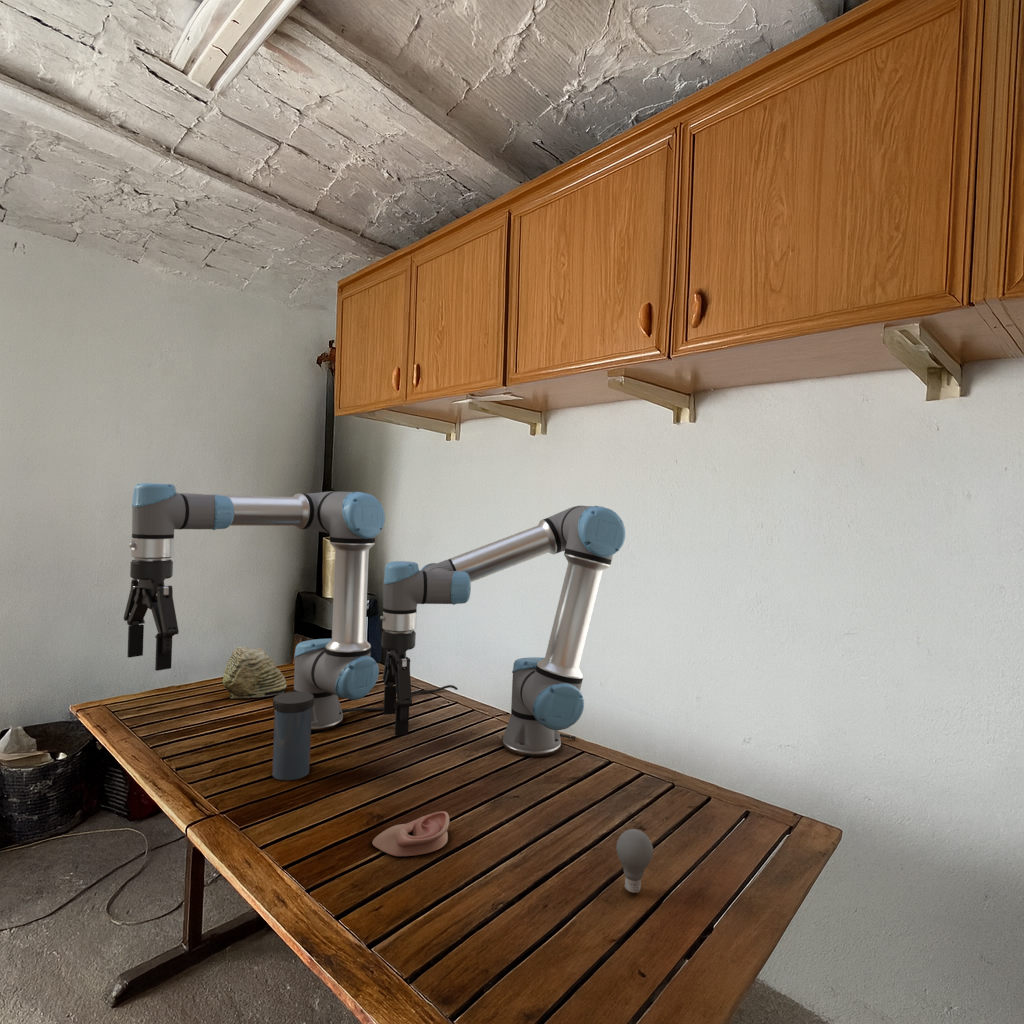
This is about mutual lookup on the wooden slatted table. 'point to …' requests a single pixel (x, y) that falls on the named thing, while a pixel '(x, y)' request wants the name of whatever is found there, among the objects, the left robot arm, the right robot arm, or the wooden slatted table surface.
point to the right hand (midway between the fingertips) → (395, 724)
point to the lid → (293, 702)
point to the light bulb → (634, 857)
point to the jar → (291, 744)
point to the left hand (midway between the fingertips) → (148, 662)
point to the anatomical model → (415, 836)
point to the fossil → (252, 674)
